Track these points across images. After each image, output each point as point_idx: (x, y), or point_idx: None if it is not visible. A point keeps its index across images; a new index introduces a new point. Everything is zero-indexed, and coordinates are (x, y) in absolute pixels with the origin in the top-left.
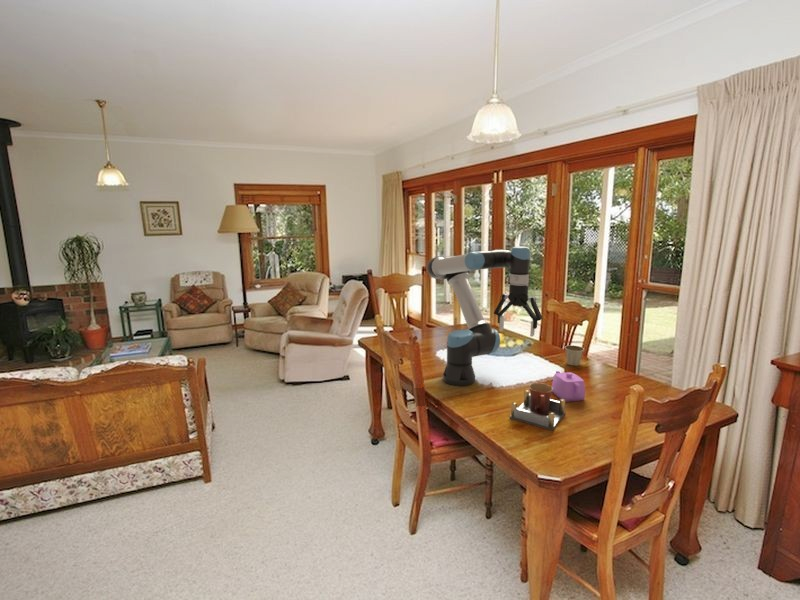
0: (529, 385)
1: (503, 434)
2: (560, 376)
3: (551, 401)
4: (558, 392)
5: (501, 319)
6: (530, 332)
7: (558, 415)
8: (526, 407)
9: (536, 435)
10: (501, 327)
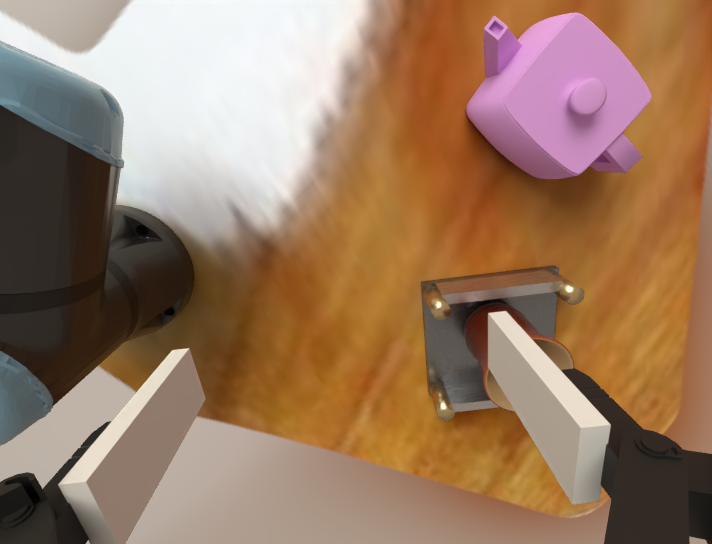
0: (486, 387)
1: (451, 458)
2: (538, 124)
3: (527, 293)
4: (512, 160)
5: (141, 511)
6: (502, 390)
7: (547, 308)
8: (446, 323)
9: (518, 418)
10: (187, 419)
